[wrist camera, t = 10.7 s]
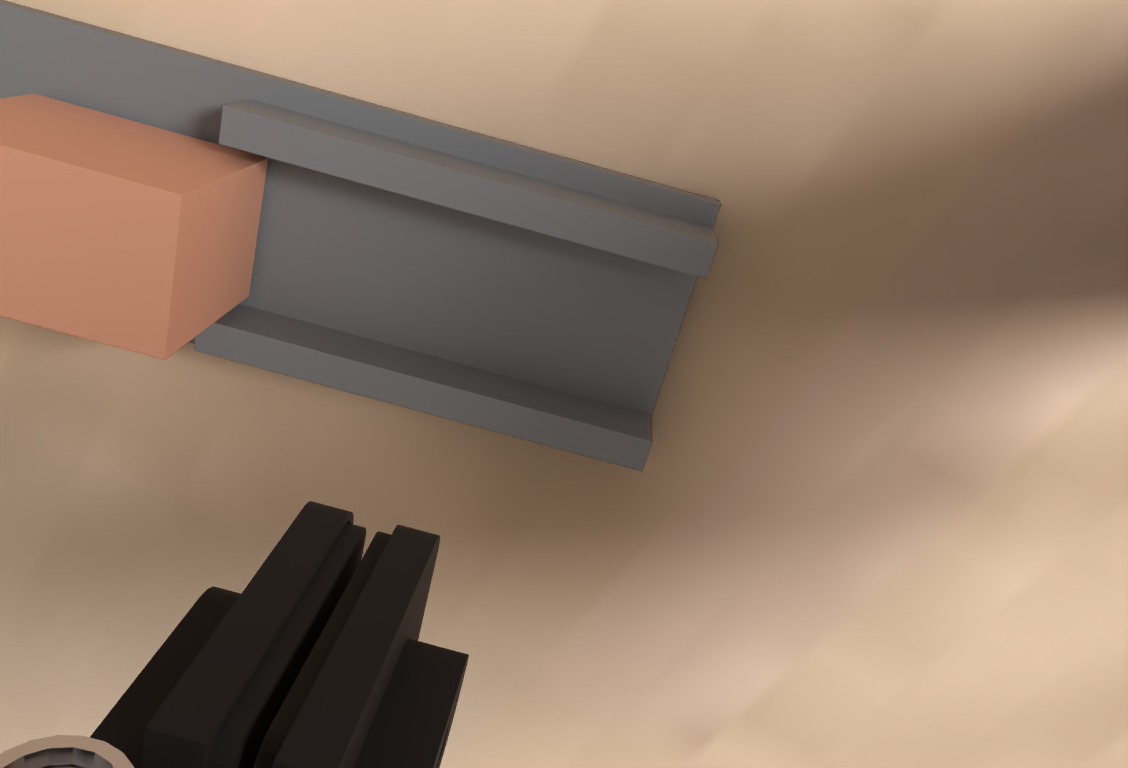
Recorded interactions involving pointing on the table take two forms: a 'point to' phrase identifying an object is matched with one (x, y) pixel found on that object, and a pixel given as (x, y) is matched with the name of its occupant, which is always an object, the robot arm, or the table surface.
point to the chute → (414, 245)
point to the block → (121, 226)
